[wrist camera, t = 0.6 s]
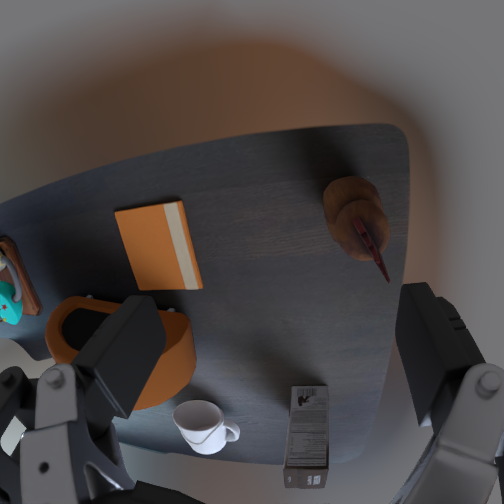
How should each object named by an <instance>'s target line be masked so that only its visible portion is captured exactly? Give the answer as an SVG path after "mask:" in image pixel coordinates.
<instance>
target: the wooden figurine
mask: <svg viewBox="0 0 504 504" xmlns="http://www.w3.org/2000/svg"><path fill="white" fill-rule="evenodd" d="M323 206H324V214H325V218H326V222H327V226H328V229H329V231H330V234H331V236H332V238H333V239H334V241H335V242H337V243H338V244H340V246H341V247H342V249H343V250H344V251H345V253H347V254H348V255H349V256H351V257H352V258H354V259H357V260H362V261H367V260H373V259H374V261H375V262H376V264H377V266H378V267H379V269H380V270H381V272H382V274H383V275H384V277H385V279H386V280H387V282H388V283H390V279H389V276H388V273H387V270H386V267H385V264H384V261H383V259H382V256H381V253H382V252H383V251H384V249H385V248H386V247H387V244H388V241H389V239H390V226H389V222H388V219H387V217H386V216H385V214H384V211H383V207H382V202H381V199H380V196H379V194H378V192H377V190H376V188H375V186H374V185H373V184H371V183H370V182H368V181H367V180H365V179H364V178H361V177H353V176H348V177H343V178H339V179H337V180H334V181H332V182H330V184H329V185H328V187H327V188H326V189H325V191H324V192H323Z"/></svg>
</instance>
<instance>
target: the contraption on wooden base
mask: <svg viewBox="0 0 504 504" xmlns="http://www.w3.org/2000/svg"><path fill="white" fill-rule="evenodd" d="M42 309H43V306H42V304H41V302H40V300H39V298H38V296H37V294H36V292H35V290H34V288H33V285H32V283H31V281H30V279H29V276H28V274H27V272H26V269H25V267H24V265H23V262H22V260H21V257H20V255H19V252H18V249H17V247H16V244H15V243H14V242H13V241H12V240H11V239H9V238H8V237H3V238H0V316H1V317H2V318H3V319H4V320H3V321H5V322H6V321H7V322H8V323H10V324H13V325H15V324H17V323H18V321H19V320H20V318H21V315H22V314H25V315H35V316H39V315H40V314H41V312H42ZM0 322H2V320H1V321H0Z"/></svg>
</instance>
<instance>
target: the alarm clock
mask: <svg viewBox="0 0 504 504" xmlns="http://www.w3.org/2000/svg"><path fill="white" fill-rule="evenodd" d="M121 305H122V304H119V303H113V302H107V301H102V300H97V299H93V296H92V295H88V296H87V297H81V296H73V297H69V298H67V299H66V300H64V301H63V302H62V303H60V304H59V305H58V306H57V307H56V308H55V309H54V311H53V312H52V313H51V315H50V317H49V320H48V322H47V325H46V332H45V340H46V343H47V346H48V349H49V351H50V353H51V355H52V357H53V359H54V360H55V362H56V364H61V363H66V364H69V365H70V363H71V362H72V361H73V359H74V358H75V357H76V355H77V354H78V353H79V352H80V350H81V349H82V348H83V346H84V345H85V344H86V343H87V341H88V340H89V339H90V338H91V337H93V334H94V333H95V331H96V330H97V329H99V326H100V325H101V324H102V323H103V321H104V320H105V319H106V318H107V317H108V316H109V315H111V314H112V313H114V312H115V311H116V310H118V308H119V307H120V306H121ZM158 312H159V315H160V317H161V320H162V323H163V325H164V328H165V331H166V336H167V341H166V346H165V349H164V351H163V353H162V355H161V356H160V358H159V360H158V362H157V364H156V366H155V368H154V370H153V372H152V373H151V375H150V377H149V379H148V381H147V383H146V385H145V387H144V389H143V391H142V393H141V395H140V397H139V399H138V401H137V402H136V404H135V406H134V408H133V410H141V409H145V408H149V407H153V406H157V405H159V404H161V403H163V402H164V401H166V400H168V399H170V398H171V397H173V396H175V395H176V394H177V393H178V392H179V391H180V390H181V389H182V388H184V387H185V386H186V385H187V384H188V383H189V382H190V379H191V377H192V375H193V373H194V371H195V368H196V359H197V358H196V352H195V346H194V340H193V334H192V327H191V321H190V319H189V318H188V317H187V316H186V315H184V314H183V313H177V312H175V309H174V308H169V309H168V310H167V311H163V310H158ZM56 364H55V365H56ZM133 410H132V411H133Z"/></svg>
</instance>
